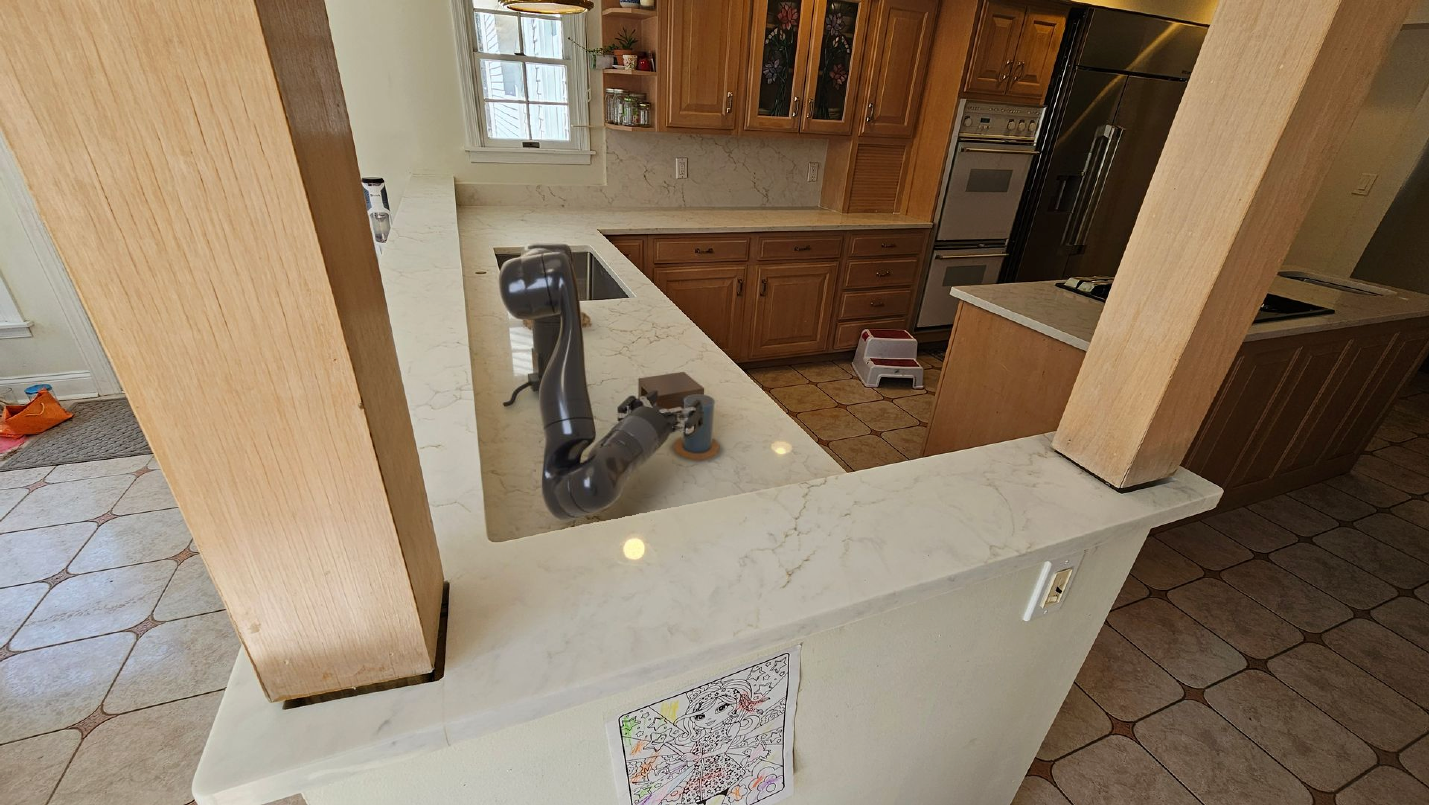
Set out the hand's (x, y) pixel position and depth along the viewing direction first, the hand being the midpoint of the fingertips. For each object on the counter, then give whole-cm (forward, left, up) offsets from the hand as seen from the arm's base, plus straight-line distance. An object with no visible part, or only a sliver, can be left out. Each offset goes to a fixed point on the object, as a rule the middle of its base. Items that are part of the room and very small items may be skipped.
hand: (677, 399), depth 111 cm
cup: (+6, +3, -12) cm, 14 cm away
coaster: (+6, +3, -13) cm, 15 cm away
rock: (0, +82, -13) cm, 83 cm away
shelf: (+7, +18, -13) cm, 23 cm away
